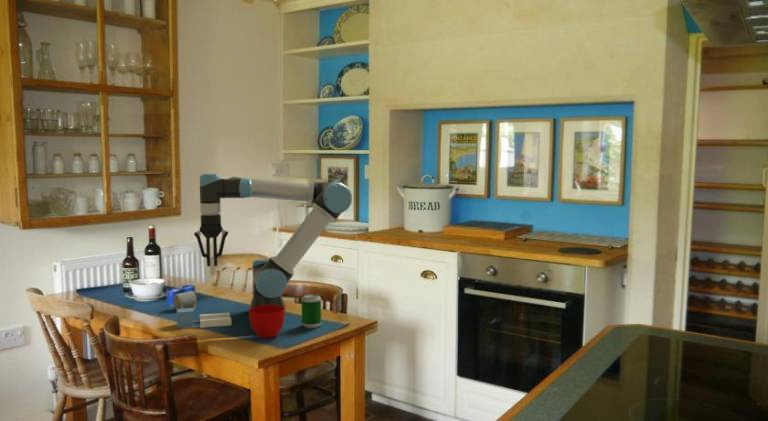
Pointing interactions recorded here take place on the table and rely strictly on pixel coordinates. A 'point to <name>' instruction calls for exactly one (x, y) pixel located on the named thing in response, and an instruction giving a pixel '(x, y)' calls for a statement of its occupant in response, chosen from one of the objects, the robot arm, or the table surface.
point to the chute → (212, 320)
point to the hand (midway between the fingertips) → (212, 274)
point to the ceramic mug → (185, 300)
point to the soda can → (311, 311)
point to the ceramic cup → (267, 320)
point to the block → (185, 317)
